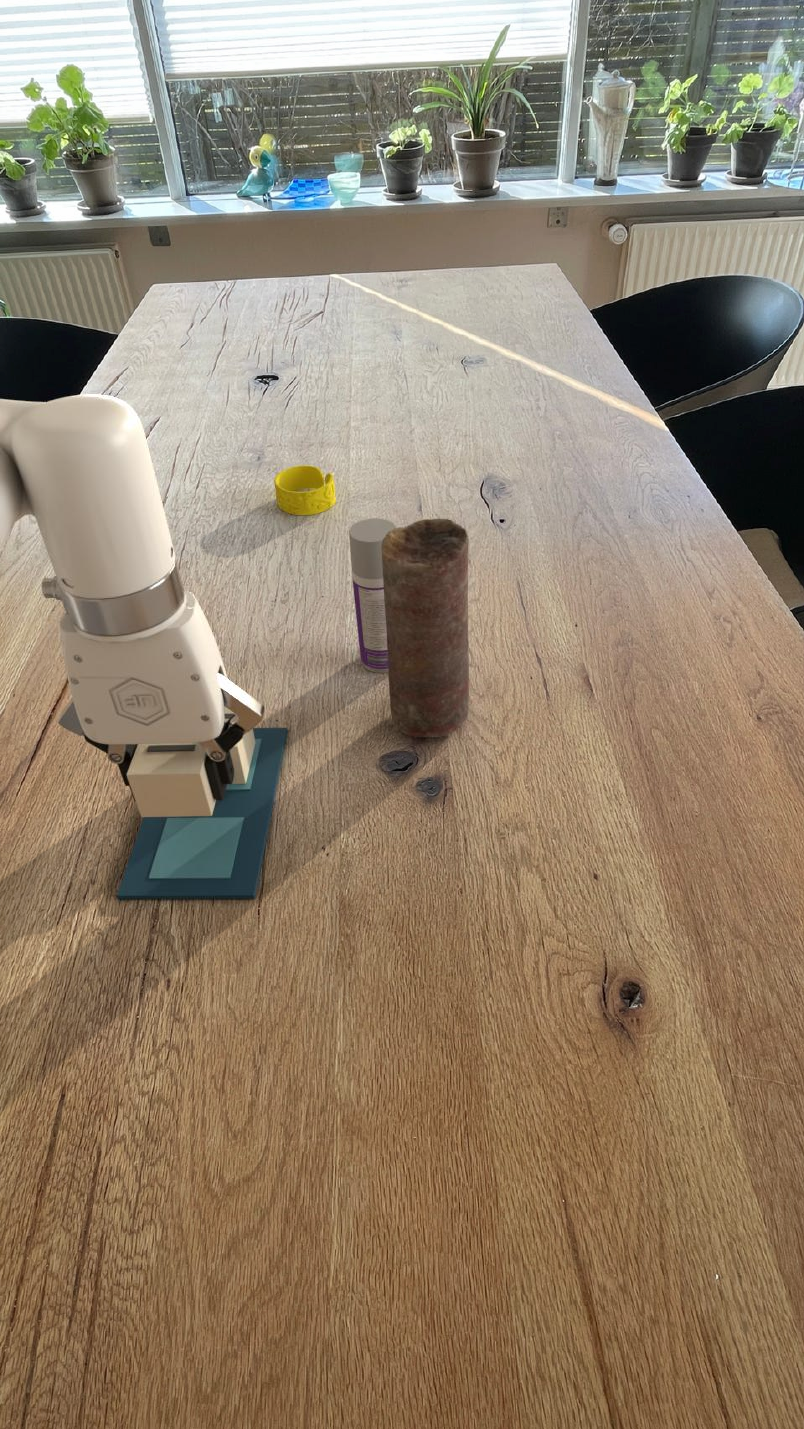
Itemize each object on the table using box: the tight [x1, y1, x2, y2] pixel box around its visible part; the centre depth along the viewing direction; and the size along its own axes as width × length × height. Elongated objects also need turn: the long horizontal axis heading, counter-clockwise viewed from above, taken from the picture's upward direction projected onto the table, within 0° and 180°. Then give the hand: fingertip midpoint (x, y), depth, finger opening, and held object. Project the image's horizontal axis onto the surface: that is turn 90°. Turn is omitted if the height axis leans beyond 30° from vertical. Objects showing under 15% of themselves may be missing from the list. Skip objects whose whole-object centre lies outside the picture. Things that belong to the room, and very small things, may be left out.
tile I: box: [127, 742, 216, 818], centre depth 73 cm, size 6×6×5 cm
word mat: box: [116, 727, 288, 901], centre depth 82 cm, size 11×20×1 cm, turn 178°
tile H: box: [224, 706, 255, 784], centre depth 84 cm, size 6×6×5 cm
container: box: [348, 517, 397, 674], centre depth 93 cm, size 5×5×15 cm
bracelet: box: [273, 464, 337, 516], centre depth 124 cm, size 7×8×3 cm
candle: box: [381, 518, 470, 738], centre depth 83 cm, size 8×7×20 cm
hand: (182, 786), depth 74 cm, fingers closed on tile I, 5 cm apart
